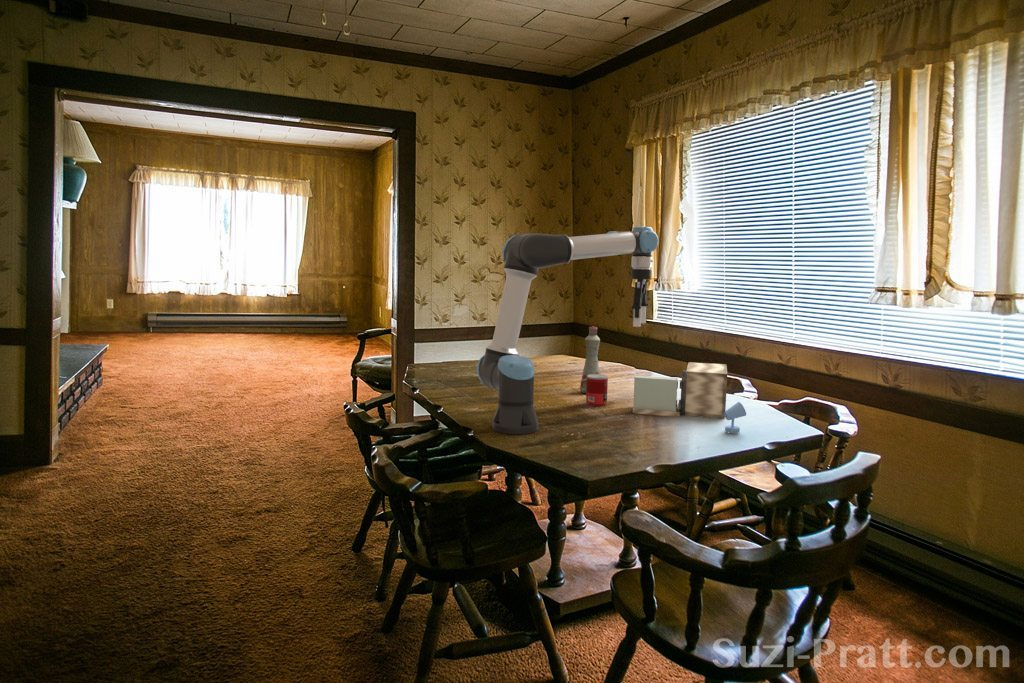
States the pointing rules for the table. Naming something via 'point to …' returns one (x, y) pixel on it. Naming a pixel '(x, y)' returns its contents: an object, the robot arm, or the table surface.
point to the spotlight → (734, 413)
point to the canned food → (596, 389)
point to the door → (655, 393)
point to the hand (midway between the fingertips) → (639, 325)
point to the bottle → (590, 357)
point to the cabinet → (699, 392)
